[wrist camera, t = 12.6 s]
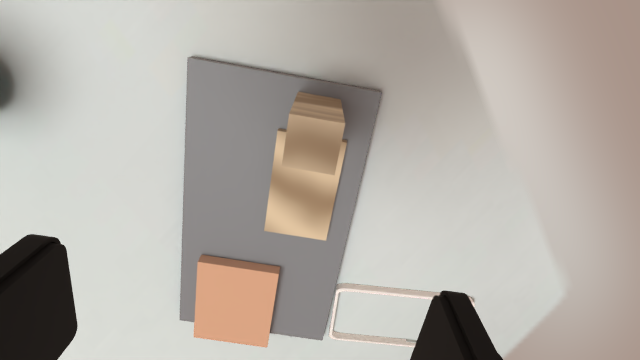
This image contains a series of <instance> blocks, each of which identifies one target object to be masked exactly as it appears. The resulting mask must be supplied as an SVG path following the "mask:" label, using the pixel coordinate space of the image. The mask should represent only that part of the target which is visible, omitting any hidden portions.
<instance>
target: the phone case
mask: <svg viewBox="0 0 640 360" xmlns="http://www.w3.org/2000/svg"><path fill="white" fill-rule="evenodd" d="M343 291H352V292H362V293H372V294H382V295H392V296H402V297H412V298H422V299H433V297H434V296H435V295H438V296H439V295H440V293H438V292H428V291H418V290H408V289H398V288H388V287H378V286H368V285H358V284H348V283H341V284H338V285H336V289H335V299H334V305H333V312H332V318H331V324H330V326H329V337H331V338H332V339H336V340H346V341H356V342H366V343H377V344H387V345H397V346H408V347H415V345H416V343H410V342H406V339H400V338H390V337H379V336H369V335H358V334H348V333H338V332H335V331H333V324H334V318H335V312H336V306H337V300H338V294H339V293H340V292H343ZM468 297H469V296H468ZM469 299H470V301H471V303H472V305H473V307H474V306H475V303H474V302H473V300H472V298H471V297H469Z"/></svg>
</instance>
